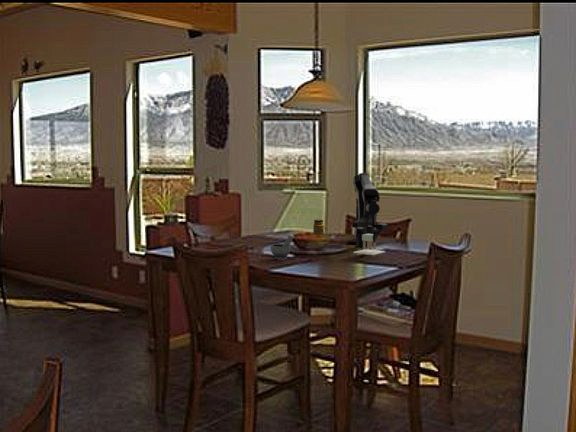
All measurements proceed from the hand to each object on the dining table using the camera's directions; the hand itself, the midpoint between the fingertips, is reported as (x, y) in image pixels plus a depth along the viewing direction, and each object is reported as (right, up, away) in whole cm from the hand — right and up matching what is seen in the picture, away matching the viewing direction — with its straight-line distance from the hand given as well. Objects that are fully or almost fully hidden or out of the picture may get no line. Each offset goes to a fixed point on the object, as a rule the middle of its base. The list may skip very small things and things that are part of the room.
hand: (369, 242), depth 360 cm
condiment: (-25, -1, +45) cm, 52 cm away
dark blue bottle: (+4, 0, +48) cm, 48 cm away
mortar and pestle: (-45, -8, -19) cm, 50 cm away
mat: (0, -5, +1) cm, 6 cm away
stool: (0, -4, 0) cm, 4 cm away
